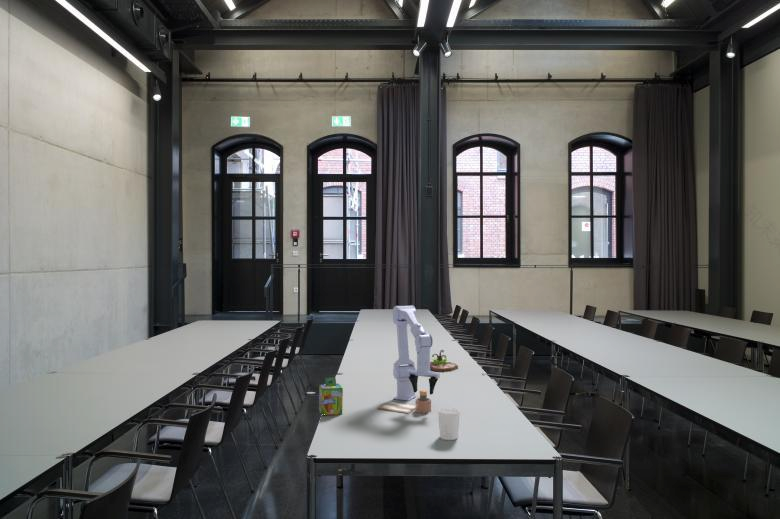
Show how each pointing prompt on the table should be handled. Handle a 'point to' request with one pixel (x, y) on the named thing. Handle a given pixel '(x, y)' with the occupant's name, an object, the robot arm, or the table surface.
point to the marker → (423, 395)
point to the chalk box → (330, 398)
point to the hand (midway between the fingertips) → (423, 392)
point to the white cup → (449, 423)
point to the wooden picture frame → (398, 407)
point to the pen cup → (423, 405)
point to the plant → (442, 364)
